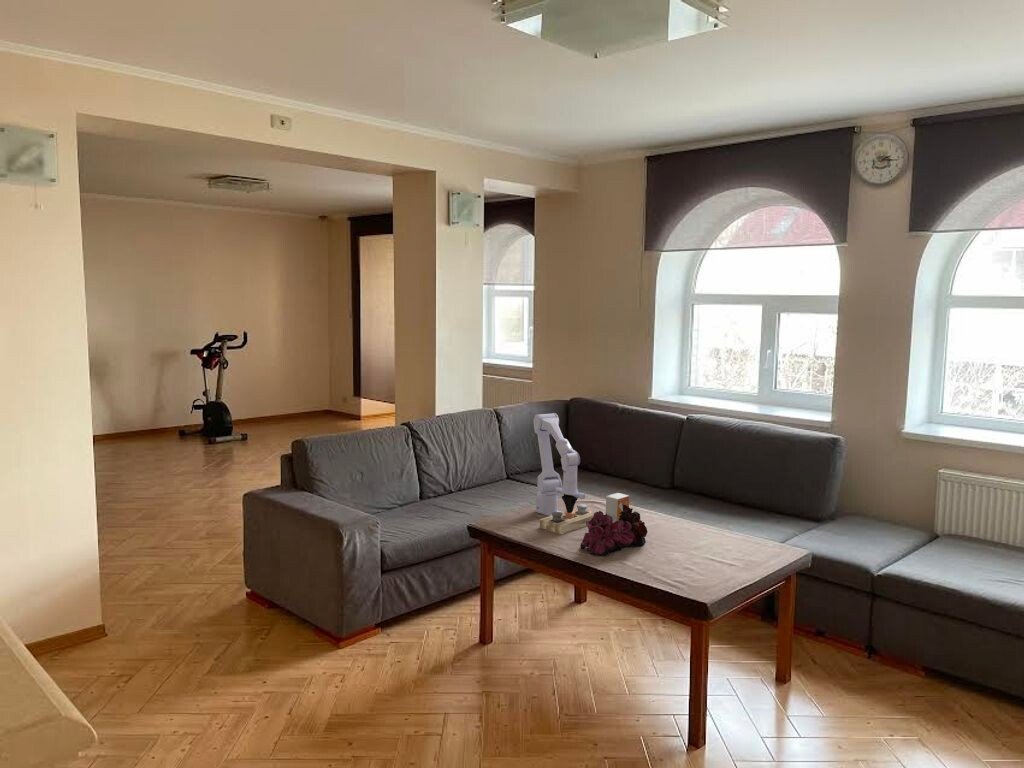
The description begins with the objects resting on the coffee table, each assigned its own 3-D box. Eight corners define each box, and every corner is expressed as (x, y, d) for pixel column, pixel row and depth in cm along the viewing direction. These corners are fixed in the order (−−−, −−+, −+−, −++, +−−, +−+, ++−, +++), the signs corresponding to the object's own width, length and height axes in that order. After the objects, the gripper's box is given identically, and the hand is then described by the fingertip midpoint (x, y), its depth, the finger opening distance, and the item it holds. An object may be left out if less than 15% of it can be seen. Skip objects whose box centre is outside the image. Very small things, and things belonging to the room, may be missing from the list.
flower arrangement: (616, 530, 304) (616, 495, 303) (658, 541, 292) (659, 504, 290) (570, 550, 281) (571, 512, 279) (614, 563, 268) (615, 523, 266)
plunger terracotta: (562, 520, 311) (562, 512, 311) (569, 517, 315) (569, 510, 314) (570, 522, 308) (570, 514, 308) (577, 520, 311) (577, 512, 311)
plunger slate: (574, 513, 317) (574, 505, 316) (581, 511, 320) (581, 503, 320) (582, 515, 314) (582, 507, 313) (589, 513, 317) (589, 505, 316)
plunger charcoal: (549, 521, 306) (549, 513, 305) (556, 519, 309) (556, 511, 308) (557, 524, 303) (557, 515, 302) (564, 521, 306) (564, 513, 305)
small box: (616, 529, 305) (617, 499, 303) (604, 526, 310) (605, 496, 308) (629, 525, 311) (629, 495, 309) (617, 522, 315) (617, 492, 314)
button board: (539, 527, 308) (539, 519, 307) (577, 515, 324) (577, 507, 324) (561, 534, 299) (561, 526, 299) (598, 521, 316) (598, 513, 315)
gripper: (589, 482, 307) (589, 514, 309) (563, 475, 317) (563, 506, 319) (578, 485, 302) (578, 517, 304) (552, 478, 312) (552, 510, 314)
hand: (569, 512), depth 311 cm, fingers closed, pressing on plunger terracotta
